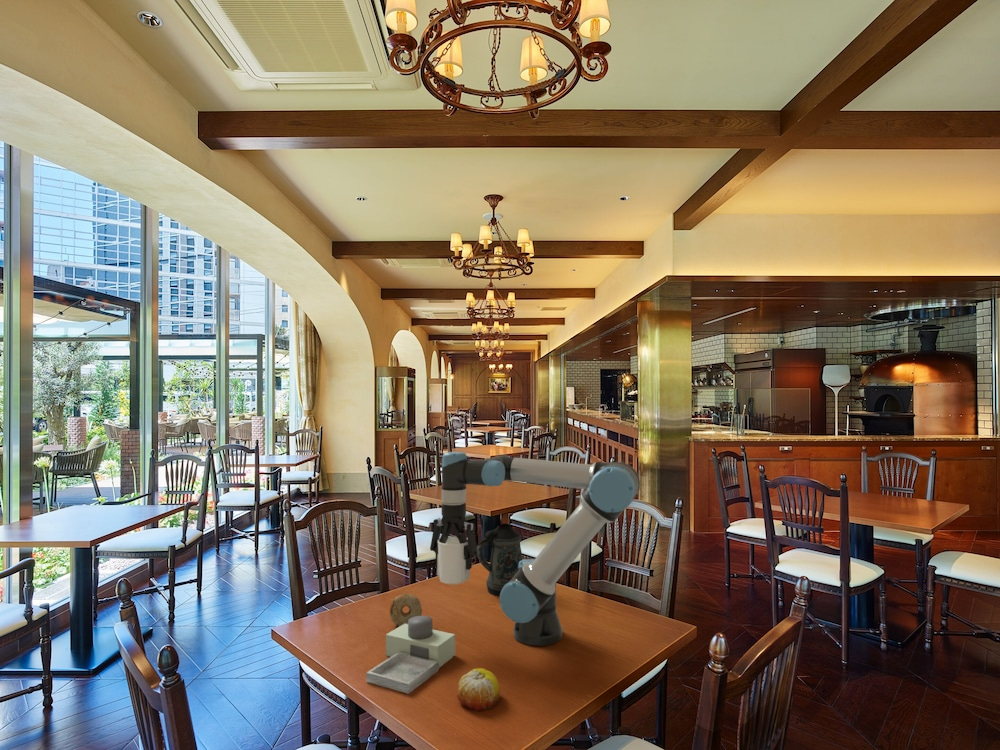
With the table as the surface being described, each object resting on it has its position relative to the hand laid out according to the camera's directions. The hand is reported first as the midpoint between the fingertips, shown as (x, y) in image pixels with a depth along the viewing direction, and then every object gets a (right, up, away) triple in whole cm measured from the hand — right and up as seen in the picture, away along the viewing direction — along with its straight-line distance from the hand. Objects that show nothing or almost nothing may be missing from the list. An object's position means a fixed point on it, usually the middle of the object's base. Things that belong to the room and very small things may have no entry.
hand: (453, 577), depth 171 cm
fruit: (+9, -18, -34) cm, 39 cm away
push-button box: (-9, -19, -9) cm, 23 cm away
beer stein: (+16, -22, +45) cm, 52 cm away
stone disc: (-17, -21, +12) cm, 29 cm away
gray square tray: (-12, -19, -21) cm, 31 cm away
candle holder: (0, -1, 0) cm, 1 cm away
